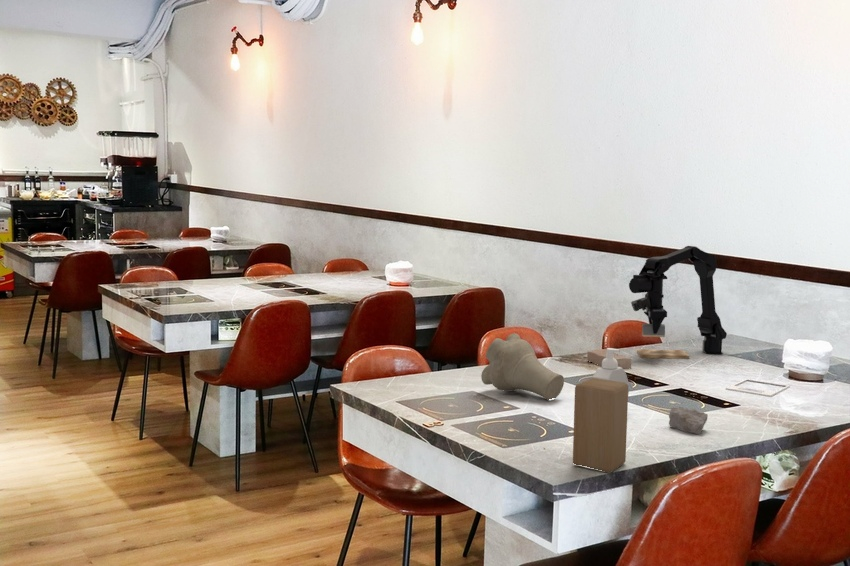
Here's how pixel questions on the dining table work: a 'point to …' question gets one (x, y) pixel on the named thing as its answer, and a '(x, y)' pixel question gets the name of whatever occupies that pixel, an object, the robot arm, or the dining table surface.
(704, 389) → the dining table surface
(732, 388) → the photo frame
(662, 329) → the block
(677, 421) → the stone
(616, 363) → the soap bottle
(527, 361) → the vase
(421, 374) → the dining table surface
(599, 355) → the brick
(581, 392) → the wooden block
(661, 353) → the oak board
